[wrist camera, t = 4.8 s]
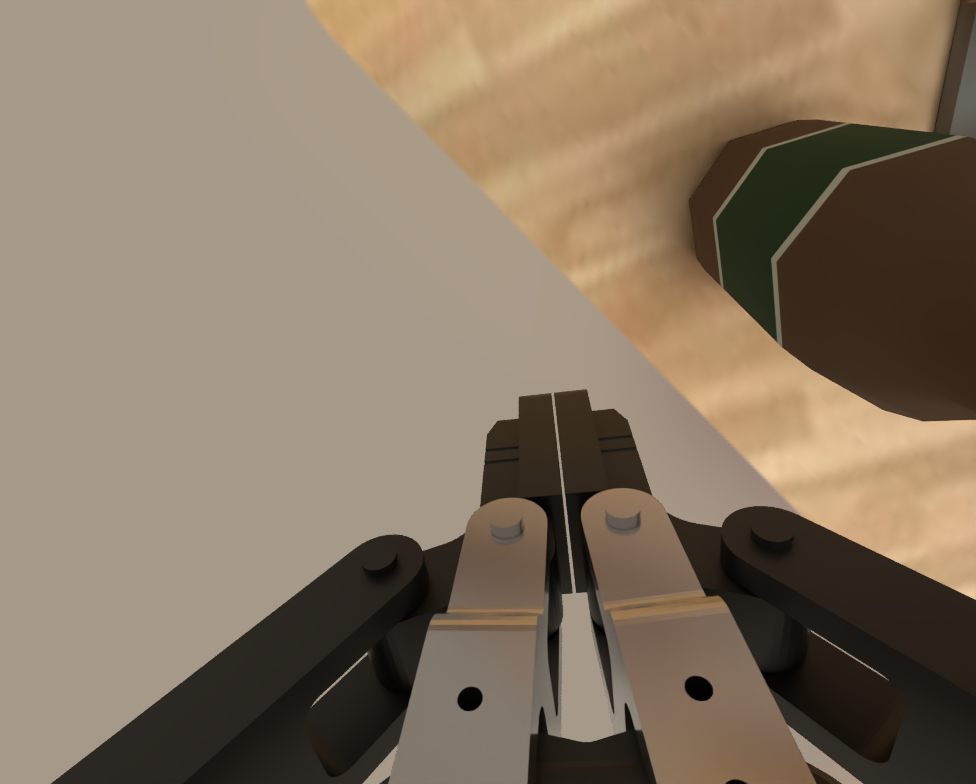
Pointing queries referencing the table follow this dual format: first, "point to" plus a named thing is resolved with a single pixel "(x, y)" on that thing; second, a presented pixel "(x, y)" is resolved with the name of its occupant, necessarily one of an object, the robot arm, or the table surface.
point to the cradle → (960, 78)
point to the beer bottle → (853, 255)
